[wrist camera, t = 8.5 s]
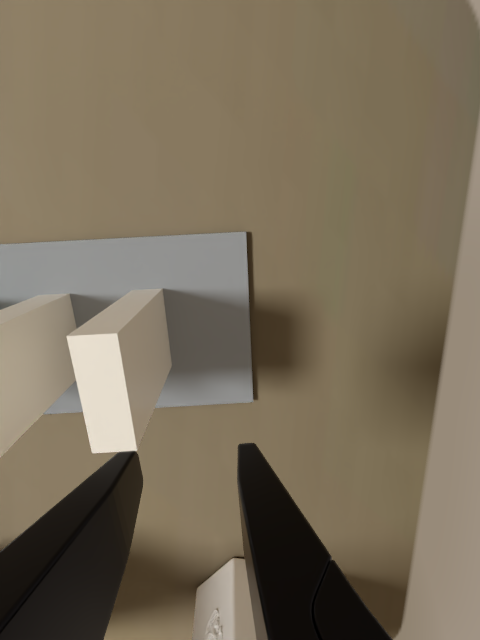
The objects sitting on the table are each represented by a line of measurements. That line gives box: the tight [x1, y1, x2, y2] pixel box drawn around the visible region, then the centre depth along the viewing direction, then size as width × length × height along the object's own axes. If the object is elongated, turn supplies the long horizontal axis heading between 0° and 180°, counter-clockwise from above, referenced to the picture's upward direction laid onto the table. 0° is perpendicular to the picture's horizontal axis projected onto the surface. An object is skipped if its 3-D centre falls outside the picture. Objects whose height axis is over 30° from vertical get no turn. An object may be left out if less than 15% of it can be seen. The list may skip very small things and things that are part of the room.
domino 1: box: [0, 294, 77, 458], centre depth 16 cm, size 2×5×8 cm, turn 2°
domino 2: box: [66, 288, 172, 453], centre depth 16 cm, size 2×5×8 cm, turn 2°
